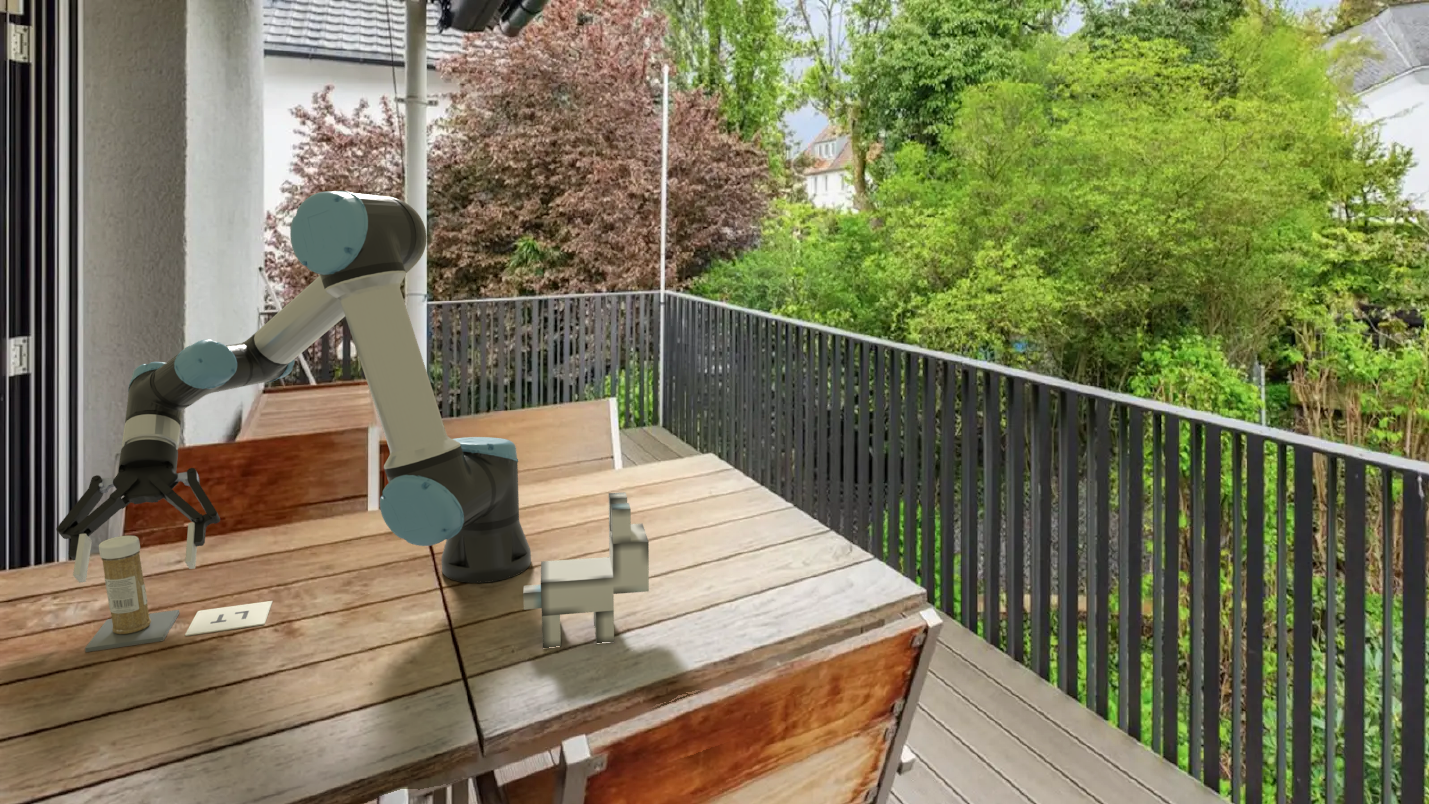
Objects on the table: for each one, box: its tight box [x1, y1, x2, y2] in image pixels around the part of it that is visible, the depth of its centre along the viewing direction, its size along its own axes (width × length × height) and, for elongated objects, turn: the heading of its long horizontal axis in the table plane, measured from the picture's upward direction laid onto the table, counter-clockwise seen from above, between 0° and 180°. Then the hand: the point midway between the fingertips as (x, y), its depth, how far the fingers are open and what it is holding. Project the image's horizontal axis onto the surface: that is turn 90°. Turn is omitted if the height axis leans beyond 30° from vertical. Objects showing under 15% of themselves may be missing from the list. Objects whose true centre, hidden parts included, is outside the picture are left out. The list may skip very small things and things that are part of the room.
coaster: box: [84, 609, 180, 653], centre depth 112 cm, size 9×9×1 cm
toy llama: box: [522, 492, 650, 649], centre depth 112 cm, size 8×18×20 cm, turn 102°
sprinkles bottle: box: [98, 535, 151, 634], centre depth 111 cm, size 5×5×14 cm
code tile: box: [184, 600, 273, 637], centre depth 117 cm, size 10×8×1 cm
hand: (136, 572), depth 115 cm, fingers open, 13 cm apart
